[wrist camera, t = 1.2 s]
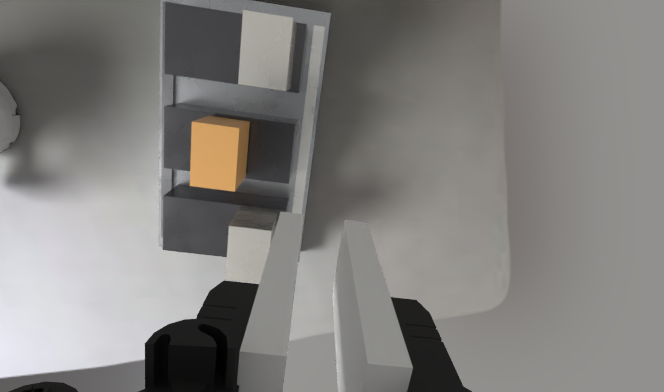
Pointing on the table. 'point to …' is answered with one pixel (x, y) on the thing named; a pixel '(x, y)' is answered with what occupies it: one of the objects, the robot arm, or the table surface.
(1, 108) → the mug
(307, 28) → the breaker panel
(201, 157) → the toggle
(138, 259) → the table surface
